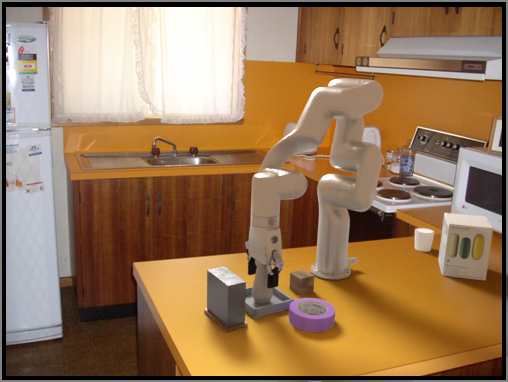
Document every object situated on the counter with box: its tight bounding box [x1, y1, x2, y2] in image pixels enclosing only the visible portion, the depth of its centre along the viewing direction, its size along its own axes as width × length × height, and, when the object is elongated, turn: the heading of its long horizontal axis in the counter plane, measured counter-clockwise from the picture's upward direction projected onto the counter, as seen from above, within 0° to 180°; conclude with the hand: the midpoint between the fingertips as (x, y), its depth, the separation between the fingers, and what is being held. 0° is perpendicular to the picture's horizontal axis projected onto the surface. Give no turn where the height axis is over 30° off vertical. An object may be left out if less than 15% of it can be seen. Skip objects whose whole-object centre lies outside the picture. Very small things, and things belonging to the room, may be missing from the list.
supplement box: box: [437, 212, 494, 281], centre depth 167 cm, size 13×13×18 cm
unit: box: [203, 266, 249, 333], centre depth 131 cm, size 6×12×12 cm, turn 32°
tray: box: [245, 285, 295, 319], centre depth 142 cm, size 12×12×2 cm
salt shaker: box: [252, 259, 273, 305], centre depth 140 cm, size 6×6×13 cm
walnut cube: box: [289, 269, 315, 295], centre depth 151 cm, size 5×5×5 cm
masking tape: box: [288, 297, 336, 333], centre depth 133 cm, size 12×12×4 cm
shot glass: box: [414, 227, 436, 253], centre depth 187 cm, size 7×7×7 cm
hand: (262, 280), depth 140 cm, fingers open, 9 cm apart
